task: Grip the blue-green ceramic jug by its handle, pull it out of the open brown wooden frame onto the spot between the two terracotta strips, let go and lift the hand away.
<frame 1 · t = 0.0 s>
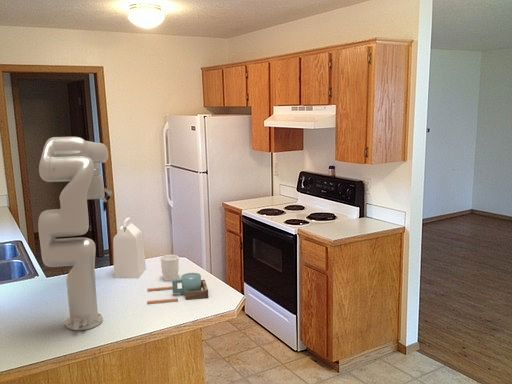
hand: (93, 211, 205), 31 cm above the counter, tool pointing down, fingers open, 9 cm apart
white cup: (170, 278, 210), on the counter
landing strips: (162, 295, 191), on the counter
milk: (130, 273, 217), on the counter
brown wooden frame: (191, 293, 194), on the counter
jug: (191, 293, 194), on the counter
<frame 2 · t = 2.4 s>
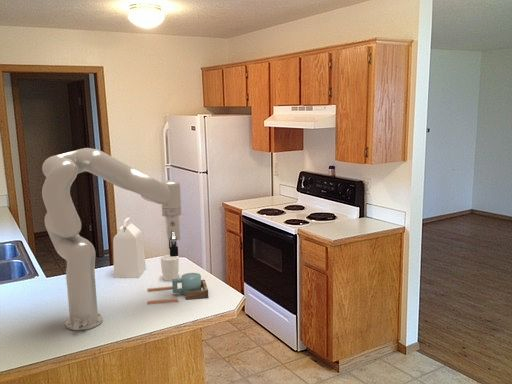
hand: (173, 252, 189), 18 cm above the counter, tool pointing down, fingers open, 9 cm apart
nothing on the counter moved.
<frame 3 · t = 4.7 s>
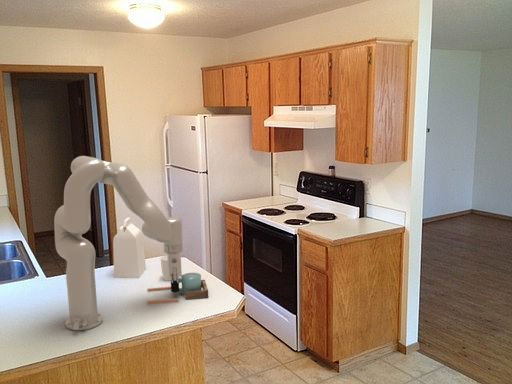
hand: (175, 290, 192), 2 cm above the counter, tool pointing down, fingers closed on jug
jug: (191, 293, 194), on the counter, touching gripper
everything else where it was.
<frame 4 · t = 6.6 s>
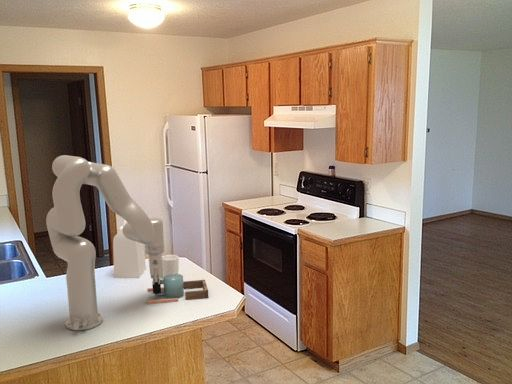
hand: (156, 291, 190), 2 cm above the counter, tool pointing down, fingers closed on jug
jug: (174, 294, 192), on the counter, touching gripper
everything else where it was.
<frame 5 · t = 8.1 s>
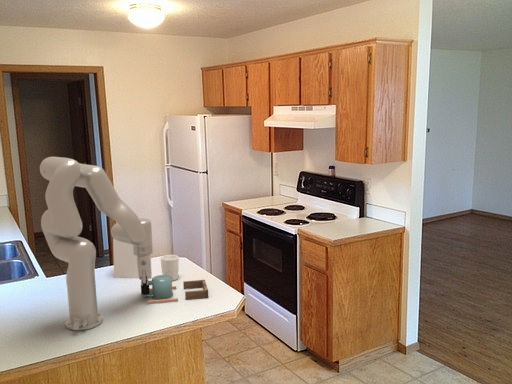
hand: (145, 292, 189), 2 cm above the counter, tool pointing down, fingers closed on jug
jug: (162, 295, 191), on the counter, touching gripper
everything else where it was.
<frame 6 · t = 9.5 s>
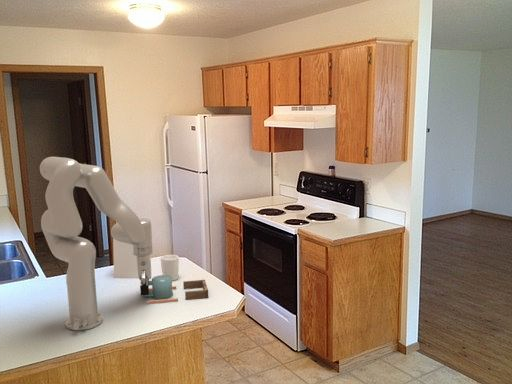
hand: (145, 290, 189), 3 cm above the counter, tool pointing down, fingers open, 9 cm apart
jug: (162, 295, 191), on the counter
everything else where it was.
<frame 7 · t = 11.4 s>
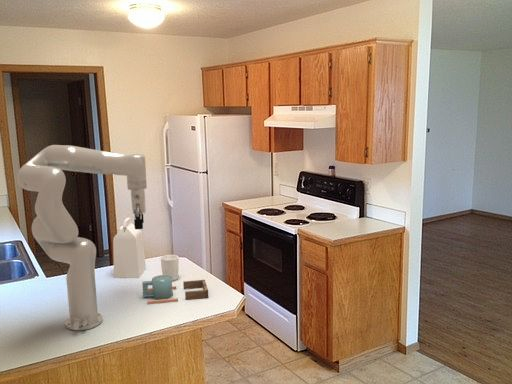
hand: (139, 226, 191), 28 cm above the counter, tool pointing down, fingers open, 9 cm apart
nothing on the counter moved.
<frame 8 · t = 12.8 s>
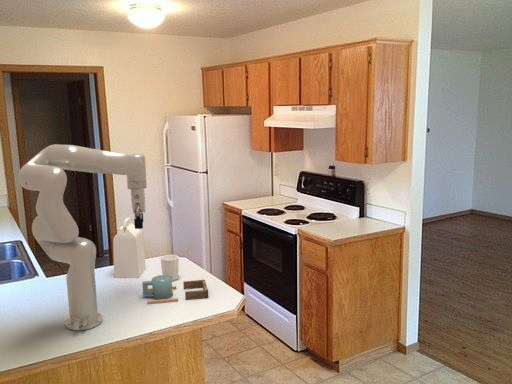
hand: (139, 225, 192), 28 cm above the counter, tool pointing down, fingers open, 9 cm apart
nothing on the counter moved.
at the end: jug 0.1 cm from the target spot, on the counter; jug tilted 0°; the gripper is holding nothing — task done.
